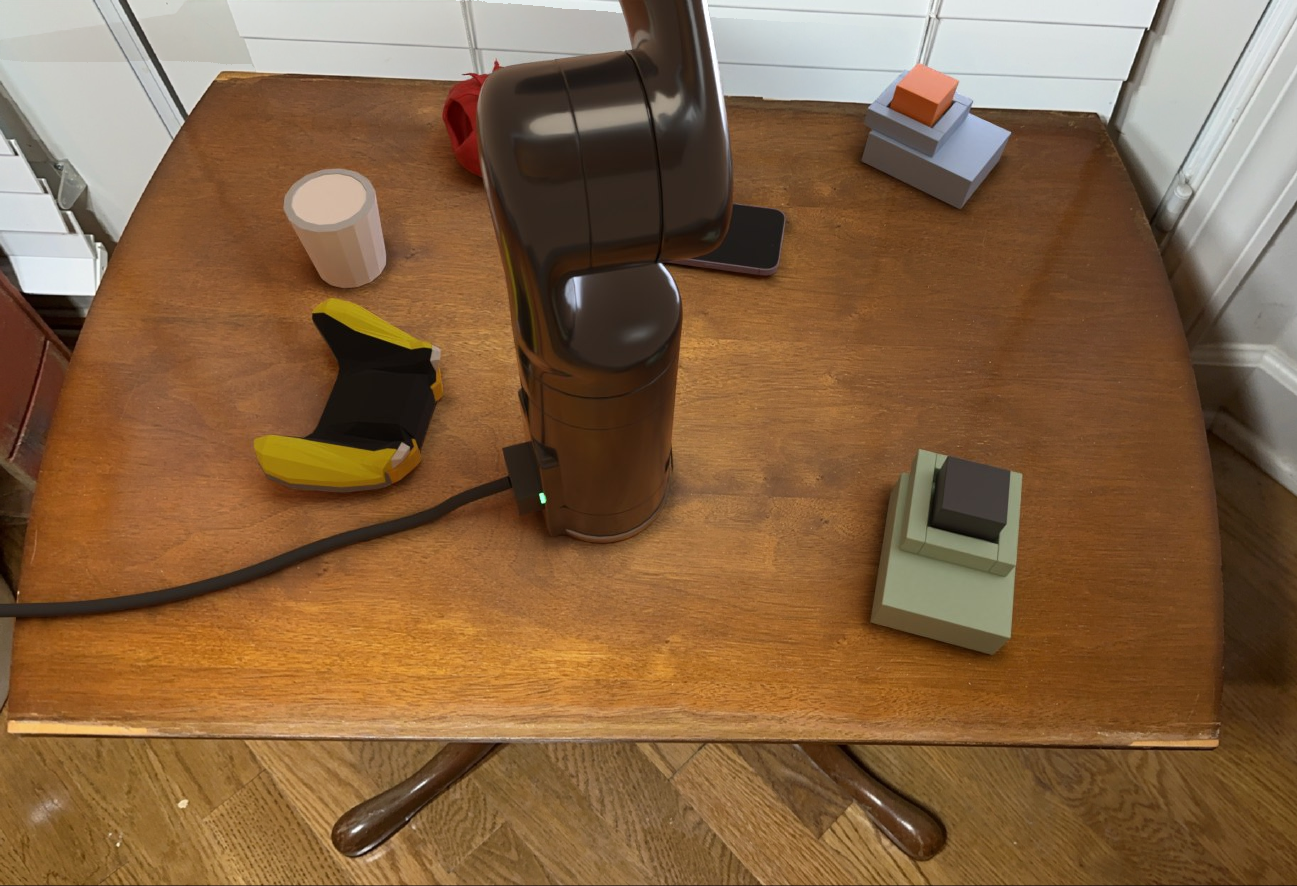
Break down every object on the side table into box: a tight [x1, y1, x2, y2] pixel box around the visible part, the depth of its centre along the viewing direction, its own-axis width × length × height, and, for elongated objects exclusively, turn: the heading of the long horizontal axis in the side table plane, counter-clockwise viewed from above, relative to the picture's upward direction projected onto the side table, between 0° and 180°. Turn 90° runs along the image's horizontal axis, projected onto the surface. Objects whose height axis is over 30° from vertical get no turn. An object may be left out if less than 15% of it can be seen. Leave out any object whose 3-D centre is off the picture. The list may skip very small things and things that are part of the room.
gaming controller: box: [253, 297, 444, 493], centre depth 65 cm, size 15×6×10 cm
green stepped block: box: [869, 448, 1023, 656], centre depth 60 cm, size 11×8×5 cm
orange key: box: [890, 62, 960, 127], centre depth 80 cm, size 4×4×3 cm
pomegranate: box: [441, 58, 503, 178], centre depth 79 cm, size 10×10×9 cm
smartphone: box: [667, 202, 786, 277], centre depth 78 cm, size 7×1×15 cm
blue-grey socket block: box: [861, 69, 1012, 210], centre depth 82 cm, size 11×8×5 cm
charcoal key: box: [930, 455, 1012, 542], centre depth 58 cm, size 4×4×2 cm
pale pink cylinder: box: [282, 167, 387, 289], centre depth 72 cm, size 7×7×7 cm
